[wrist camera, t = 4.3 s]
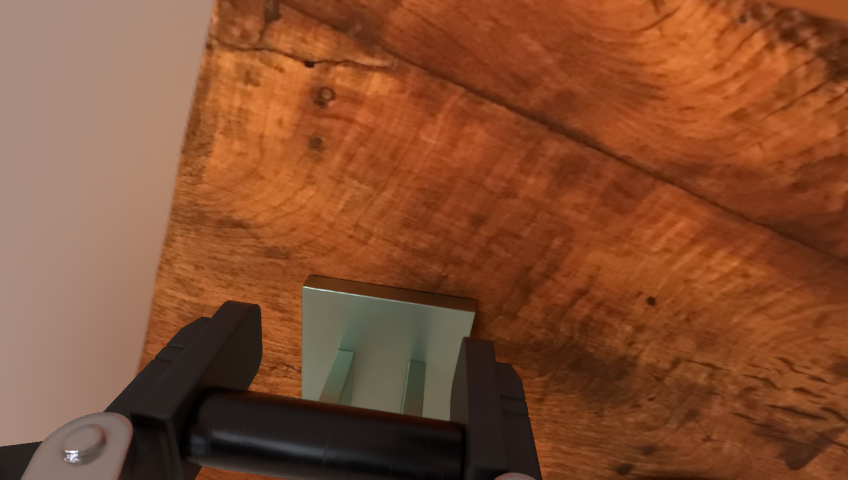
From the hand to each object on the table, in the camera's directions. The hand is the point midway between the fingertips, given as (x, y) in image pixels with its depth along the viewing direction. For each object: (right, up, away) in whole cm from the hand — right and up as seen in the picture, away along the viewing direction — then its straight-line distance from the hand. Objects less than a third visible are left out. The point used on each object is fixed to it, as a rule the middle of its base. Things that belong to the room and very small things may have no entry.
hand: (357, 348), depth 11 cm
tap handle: (-1, -5, +2) cm, 6 cm away
